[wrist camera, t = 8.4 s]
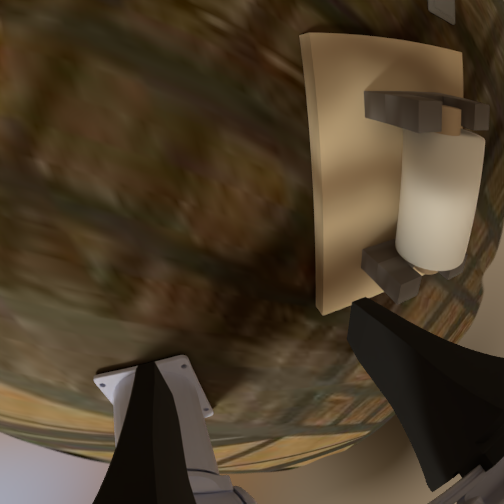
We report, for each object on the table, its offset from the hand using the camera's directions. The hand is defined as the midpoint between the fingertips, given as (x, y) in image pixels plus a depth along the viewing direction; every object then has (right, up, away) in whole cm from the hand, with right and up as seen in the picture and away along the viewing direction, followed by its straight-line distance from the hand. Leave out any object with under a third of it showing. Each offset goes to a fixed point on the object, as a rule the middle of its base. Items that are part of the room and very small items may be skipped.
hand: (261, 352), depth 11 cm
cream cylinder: (+11, +7, +6) cm, 15 cm away
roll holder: (+10, +9, +9) cm, 16 cm away
